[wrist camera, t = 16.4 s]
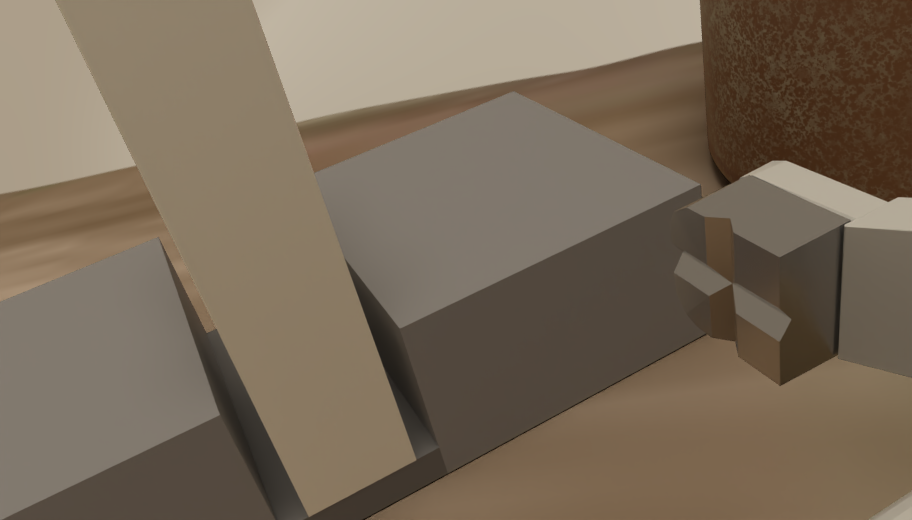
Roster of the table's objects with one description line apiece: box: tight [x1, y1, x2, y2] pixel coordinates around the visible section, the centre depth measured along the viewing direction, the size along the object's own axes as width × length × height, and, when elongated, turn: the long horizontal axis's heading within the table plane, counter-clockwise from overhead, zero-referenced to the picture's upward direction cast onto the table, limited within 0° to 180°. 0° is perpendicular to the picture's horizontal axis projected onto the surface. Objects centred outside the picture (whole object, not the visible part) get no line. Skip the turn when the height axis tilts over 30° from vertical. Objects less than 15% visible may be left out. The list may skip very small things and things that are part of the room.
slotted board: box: [0, 91, 706, 520], centre depth 24 cm, size 22×10×5 cm, turn 117°
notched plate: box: [55, 0, 416, 517], centre depth 19 cm, size 3×6×14 cm, turn 27°
